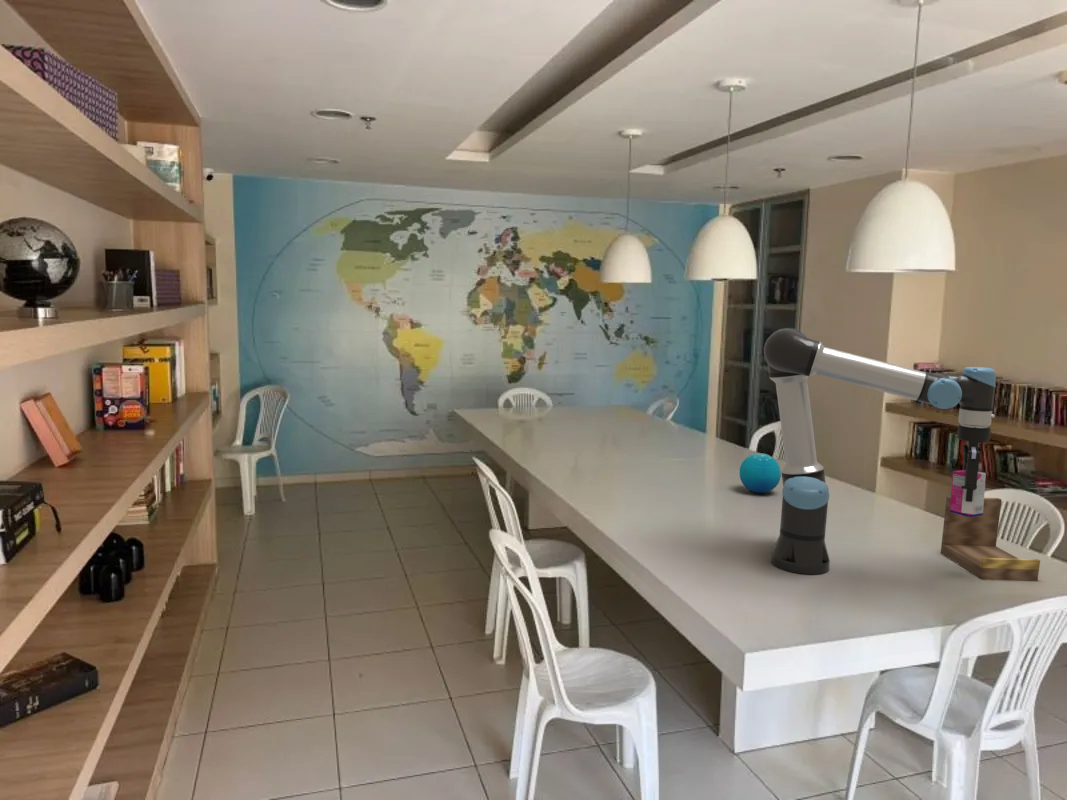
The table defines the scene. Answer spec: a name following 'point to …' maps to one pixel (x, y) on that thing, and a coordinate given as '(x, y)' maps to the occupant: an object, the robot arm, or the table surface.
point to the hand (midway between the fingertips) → (966, 509)
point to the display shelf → (983, 545)
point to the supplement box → (957, 493)
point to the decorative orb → (760, 473)
